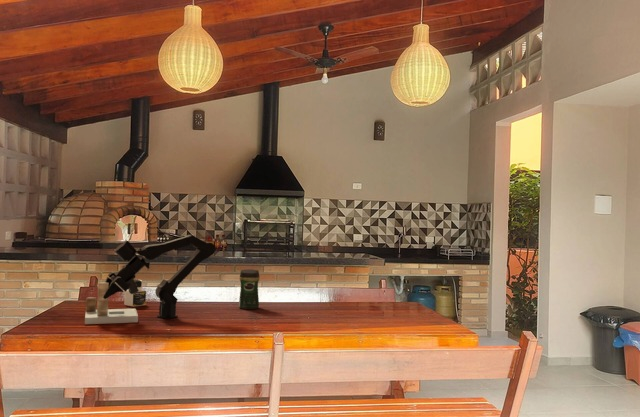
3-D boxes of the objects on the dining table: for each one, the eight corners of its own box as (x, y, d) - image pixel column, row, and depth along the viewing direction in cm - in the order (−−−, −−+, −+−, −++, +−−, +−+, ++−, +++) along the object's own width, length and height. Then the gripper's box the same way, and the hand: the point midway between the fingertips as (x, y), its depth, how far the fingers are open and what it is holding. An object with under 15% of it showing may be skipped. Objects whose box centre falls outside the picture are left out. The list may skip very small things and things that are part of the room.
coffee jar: (258, 306, 274) (260, 268, 274) (258, 309, 266) (259, 270, 266) (238, 306, 273) (240, 268, 273) (238, 309, 265) (239, 270, 265)
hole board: (135, 314, 244) (135, 308, 244) (137, 322, 228) (138, 316, 228) (85, 315, 237) (85, 310, 237) (84, 324, 221) (85, 317, 221)
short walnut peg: (98, 310, 236) (98, 297, 236) (90, 312, 232) (90, 299, 232) (91, 309, 238) (92, 296, 238) (83, 311, 234) (84, 298, 234)
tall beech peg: (109, 314, 228) (110, 283, 228) (101, 316, 225) (102, 284, 225) (103, 313, 230) (103, 282, 230) (95, 315, 227) (95, 283, 227)
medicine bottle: (132, 306, 261) (133, 281, 261) (123, 304, 266) (124, 279, 266) (145, 305, 267) (146, 280, 267) (136, 303, 271) (137, 278, 271)
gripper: (150, 285, 227) (120, 314, 222) (140, 279, 244) (112, 305, 238) (130, 266, 224) (100, 294, 218) (122, 261, 240) (93, 287, 234)
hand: (102, 296), depth 227 cm, fingers open, 9 cm apart
